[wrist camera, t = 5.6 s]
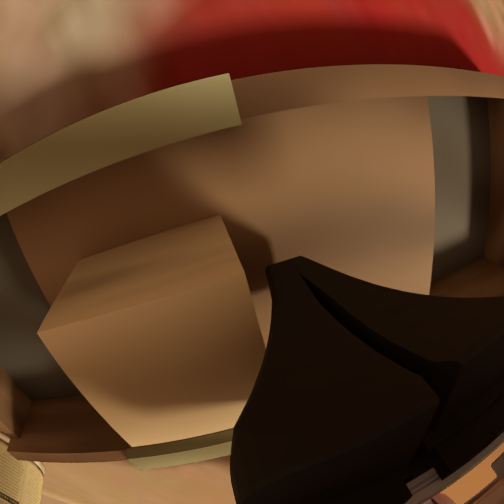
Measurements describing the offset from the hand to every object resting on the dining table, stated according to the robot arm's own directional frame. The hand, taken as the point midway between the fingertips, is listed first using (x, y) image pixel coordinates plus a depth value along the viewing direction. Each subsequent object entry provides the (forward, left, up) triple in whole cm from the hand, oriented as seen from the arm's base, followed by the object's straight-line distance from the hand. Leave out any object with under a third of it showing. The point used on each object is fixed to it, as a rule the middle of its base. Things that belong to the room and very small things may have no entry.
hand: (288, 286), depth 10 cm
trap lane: (0, +1, -3) cm, 3 cm away
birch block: (0, +4, -1) cm, 4 cm away
